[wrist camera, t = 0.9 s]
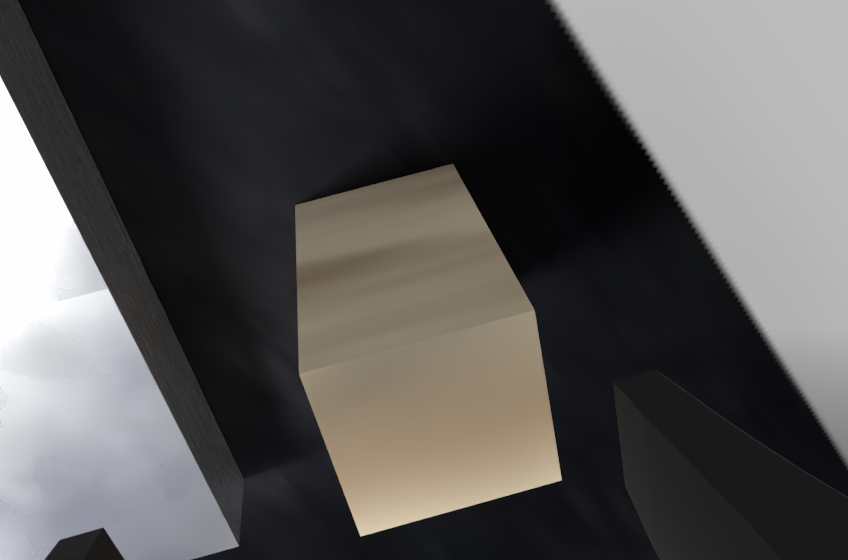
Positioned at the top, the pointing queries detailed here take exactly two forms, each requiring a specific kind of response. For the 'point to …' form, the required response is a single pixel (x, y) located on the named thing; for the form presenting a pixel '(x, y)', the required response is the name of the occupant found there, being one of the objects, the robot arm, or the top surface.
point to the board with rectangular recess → (90, 353)
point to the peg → (419, 352)
